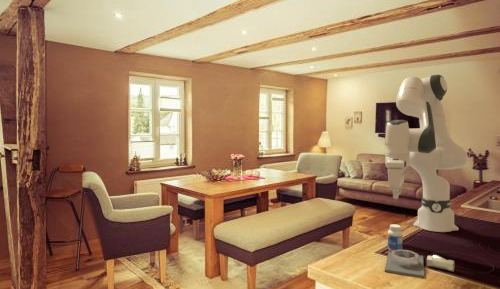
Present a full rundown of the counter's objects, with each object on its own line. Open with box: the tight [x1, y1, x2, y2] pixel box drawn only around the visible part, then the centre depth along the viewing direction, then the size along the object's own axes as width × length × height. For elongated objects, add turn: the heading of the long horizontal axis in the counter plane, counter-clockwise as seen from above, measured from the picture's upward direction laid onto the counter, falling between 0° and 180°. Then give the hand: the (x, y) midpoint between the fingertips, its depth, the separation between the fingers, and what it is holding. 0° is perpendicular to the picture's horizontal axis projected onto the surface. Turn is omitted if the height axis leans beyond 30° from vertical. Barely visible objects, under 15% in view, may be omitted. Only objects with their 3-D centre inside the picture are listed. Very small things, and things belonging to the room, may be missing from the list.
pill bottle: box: [387, 223, 403, 252], centre depth 137 cm, size 6×5×10 cm
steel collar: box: [391, 249, 419, 268], centre depth 123 cm, size 9×9×3 cm
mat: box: [384, 250, 425, 279], centre depth 123 cm, size 18×12×1 cm, turn 154°
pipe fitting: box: [426, 254, 455, 273], centre depth 121 cm, size 8×4×7 cm
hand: (397, 196), depth 136 cm, fingers open, 8 cm apart
